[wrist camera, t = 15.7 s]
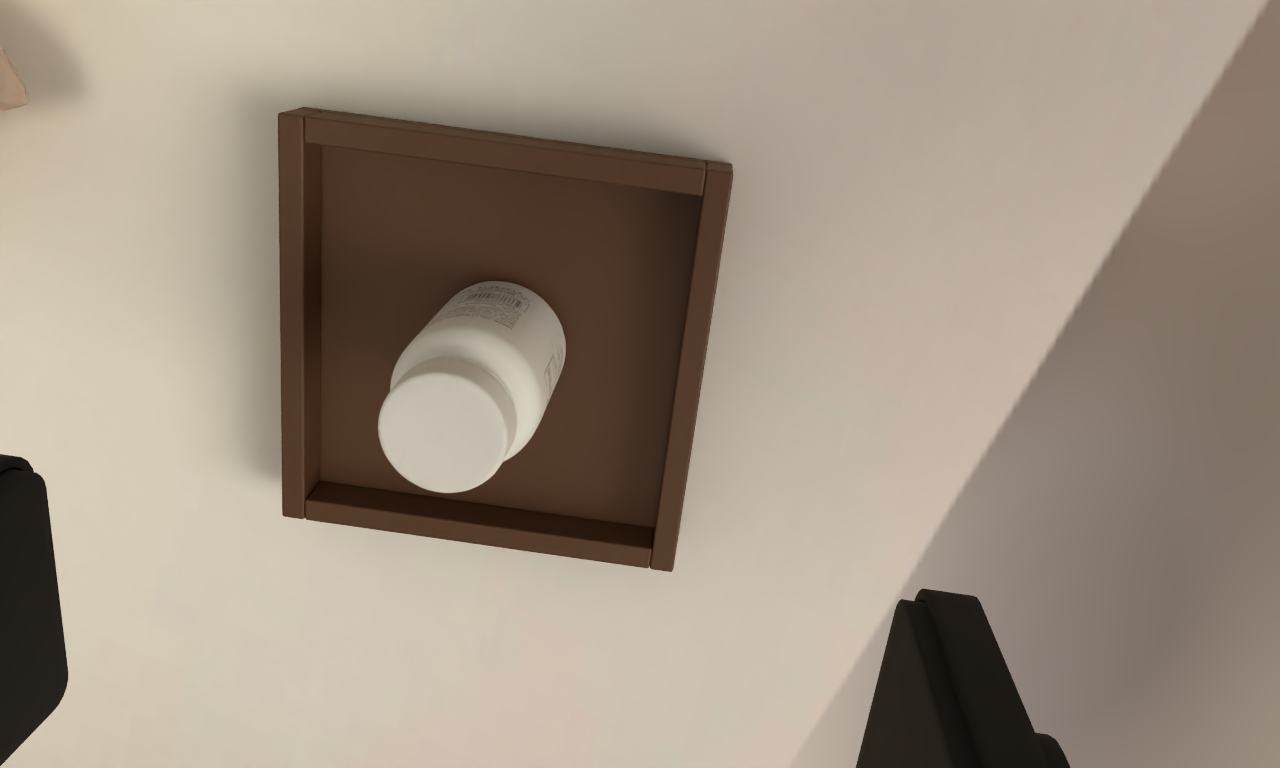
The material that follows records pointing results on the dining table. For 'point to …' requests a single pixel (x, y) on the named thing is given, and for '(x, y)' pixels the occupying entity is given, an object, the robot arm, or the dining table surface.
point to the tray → (508, 252)
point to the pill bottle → (472, 387)
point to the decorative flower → (10, 85)
